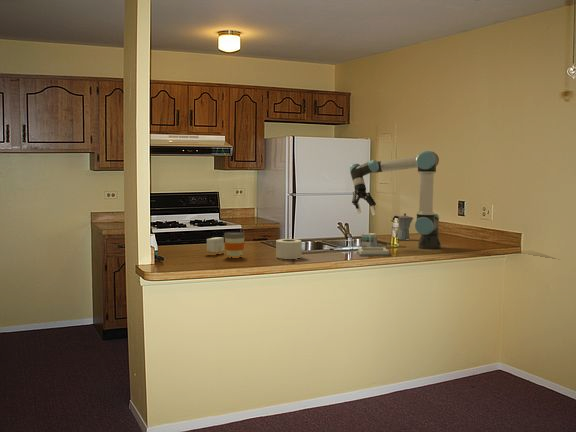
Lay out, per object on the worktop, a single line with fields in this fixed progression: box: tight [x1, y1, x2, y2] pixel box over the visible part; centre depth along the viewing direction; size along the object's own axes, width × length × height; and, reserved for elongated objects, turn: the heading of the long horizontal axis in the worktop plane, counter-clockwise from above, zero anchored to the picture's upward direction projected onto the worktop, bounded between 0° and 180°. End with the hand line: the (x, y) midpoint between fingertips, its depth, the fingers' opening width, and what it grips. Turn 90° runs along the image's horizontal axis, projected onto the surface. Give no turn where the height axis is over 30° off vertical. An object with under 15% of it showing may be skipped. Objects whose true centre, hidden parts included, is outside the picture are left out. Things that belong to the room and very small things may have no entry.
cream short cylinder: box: [275, 238, 303, 260], centre depth 379 cm, size 16×15×11 cm
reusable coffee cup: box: [223, 231, 246, 256], centre depth 381 cm, size 13×13×15 cm
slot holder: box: [356, 246, 391, 257], centre depth 395 cm, size 19×19×3 cm
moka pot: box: [392, 212, 414, 241], centre depth 468 cm, size 10×15×20 cm, turn 78°
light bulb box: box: [361, 232, 378, 247], centre depth 414 cm, size 11×7×11 cm, turn 148°
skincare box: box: [206, 236, 225, 252], centre depth 395 cm, size 10×6×10 cm, turn 152°
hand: (366, 214), depth 416 cm, fingers open, 13 cm apart
